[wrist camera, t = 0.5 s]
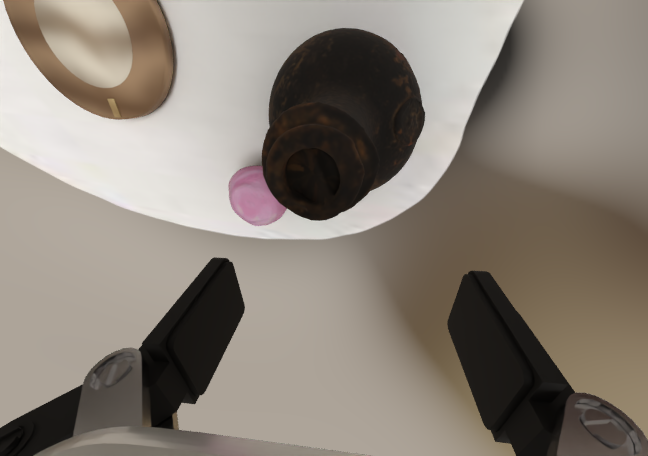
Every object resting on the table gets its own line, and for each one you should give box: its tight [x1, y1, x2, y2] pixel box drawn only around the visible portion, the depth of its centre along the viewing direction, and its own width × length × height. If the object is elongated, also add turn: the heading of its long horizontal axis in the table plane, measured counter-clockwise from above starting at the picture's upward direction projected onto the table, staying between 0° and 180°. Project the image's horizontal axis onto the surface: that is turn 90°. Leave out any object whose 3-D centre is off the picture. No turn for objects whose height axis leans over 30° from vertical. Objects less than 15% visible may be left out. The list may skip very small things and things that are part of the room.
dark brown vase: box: [262, 28, 425, 221], centre depth 23 cm, size 18×18×28 cm
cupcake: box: [229, 166, 287, 226], centre depth 37 cm, size 9×9×10 cm
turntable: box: [3, 0, 173, 119], centre depth 31 cm, size 20×20×2 cm
